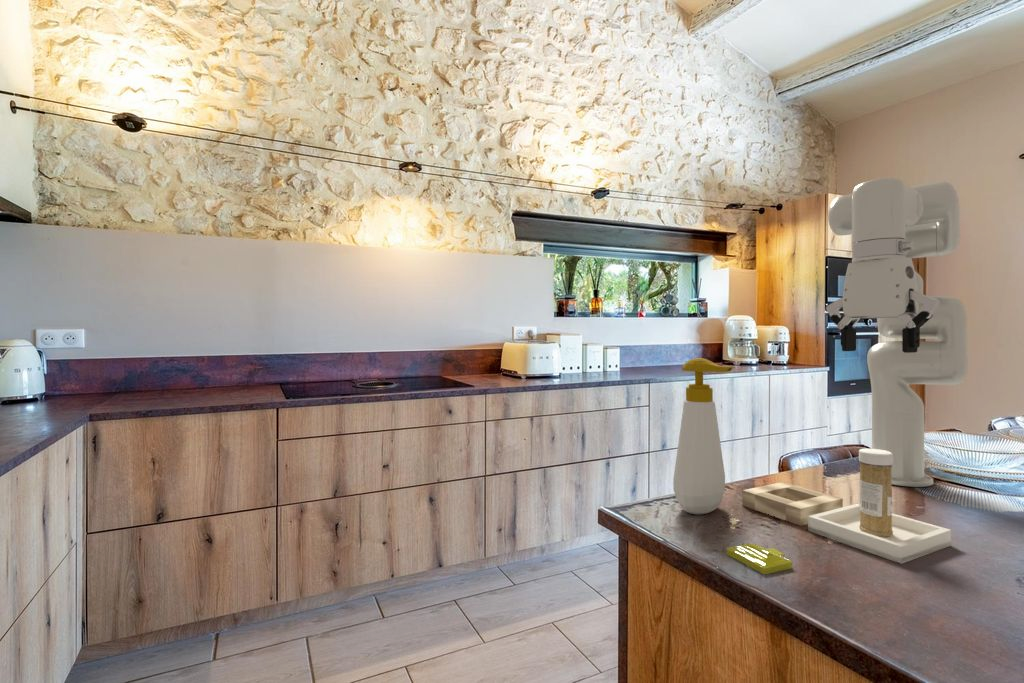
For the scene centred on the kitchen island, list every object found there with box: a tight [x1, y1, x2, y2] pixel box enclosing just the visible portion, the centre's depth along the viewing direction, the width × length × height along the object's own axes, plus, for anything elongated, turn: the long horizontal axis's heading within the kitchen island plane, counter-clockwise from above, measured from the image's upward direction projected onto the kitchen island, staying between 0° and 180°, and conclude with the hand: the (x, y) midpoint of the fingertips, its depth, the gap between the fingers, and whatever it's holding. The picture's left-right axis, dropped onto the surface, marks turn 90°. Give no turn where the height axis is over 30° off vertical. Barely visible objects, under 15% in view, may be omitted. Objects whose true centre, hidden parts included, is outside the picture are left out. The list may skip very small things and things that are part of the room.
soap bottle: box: [672, 357, 733, 515], centre depth 96 cm, size 13×10×29 cm
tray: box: [807, 503, 952, 565], centre depth 83 cm, size 14×14×2 cm
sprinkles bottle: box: [858, 448, 893, 537], centre depth 83 cm, size 5×5×13 cm
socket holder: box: [741, 481, 844, 527], centre depth 96 cm, size 12×12×3 cm
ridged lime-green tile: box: [725, 542, 801, 575], centre depth 75 cm, size 10×9×3 cm
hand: (878, 351), depth 88 cm, fingers open, 9 cm apart
